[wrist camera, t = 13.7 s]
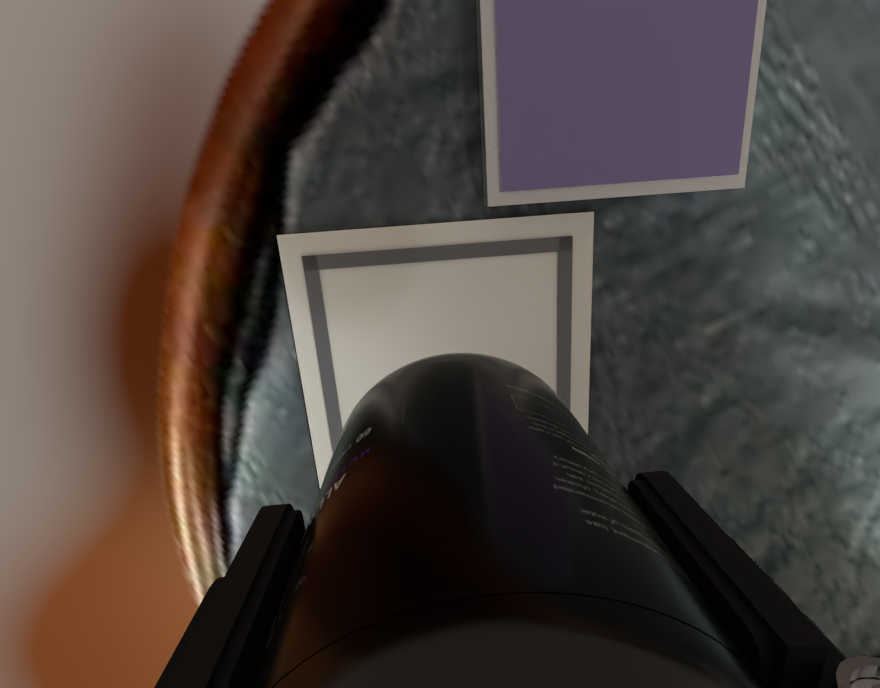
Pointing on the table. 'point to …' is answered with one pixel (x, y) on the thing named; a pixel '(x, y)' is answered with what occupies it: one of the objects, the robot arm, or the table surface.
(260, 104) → the table surface
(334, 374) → the marked card
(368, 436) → the supplement bottle
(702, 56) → the ink pad
